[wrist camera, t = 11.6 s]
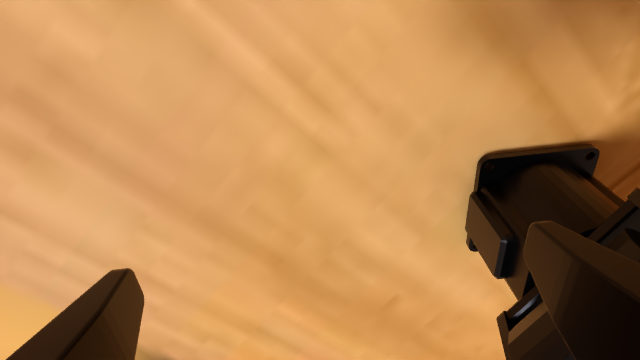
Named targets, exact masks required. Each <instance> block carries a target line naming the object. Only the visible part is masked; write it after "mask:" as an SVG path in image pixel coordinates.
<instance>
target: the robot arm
mask: <svg viewBox="0 0 640 360" xmlns="http://www.w3.org/2000/svg"><path fill="white" fill-rule="evenodd" d="M589 152H590V153H589ZM588 153H589V155H587V154H588ZM586 155H587V156H586ZM598 157H599V150H598V149H597V148H595V147H594V146H592V145H579V146H569V147H560V148H551V149H541V150H532V151H523V152H514V153H504V154H495V155H487V156H484V157H482V158H481V159H480V160H479V161H478V164H477V170H476V177H475V184H474V191H473V192H472V193H471V195H470V197H469V204H468V212H467V219H466V226H465V230H466V231H467V240H466V244H467V246H468V248H469V249H470V250H471V251H474V252H477V251H479V253H480V255H481V256H482V258H483V260H484V261H485V263H486V265H487V266H488V268H489V270H490V271H491V273H492V275H493V276H494V277H496V278H497V279H505V281H506V282H507V284H508V285H509V287H510V289H511V290H512V292H513V293H514V295H515V297H516V298H517V300H518V301H517V302H516V303H515V304H514V305H513V306H512V307H511V308H510V309H509V310H508V311H503V312H502V313H501V314H500V315H499V316H498V317H497V323H498V327H499V331H500V335H501V340H502V344H503V348H504V352H505V356H506V360H640V189H639V188H636V189H635V190H634V191H633V192H632V193H631V194H630V195H629V196H628V197H627V198H628V200H627V201H626V202H624V201H623V200H622V199H620V198H619V197H618V196H617V195H615V194H614V193H613V192H612V191H611V190H609V189H608V188H607V187H606V186H604V185H603V184H602V183H601V182H599V181H598V180H597V179H596V178H594V177H593V173H594V170H595V167H596V164H597V160H598ZM488 163H491V164H490V166H488V167H485V166H486V165H487V164H488ZM143 307H144V295H143V292H142V290H141V287H140V285H139V283H138V280H137V278H136V276H135V274H134V272H133V271H132V270H131V269H129V268H125V269H116V270H112V271H110V272H108V273H107V274H106V275H105V276H104V277H102V278H101V279H100V280H99V281H98V282H97V283H95V284H94V285H93V286H92V287H91V288H90V289H88V290H87V291H86V292H85V293H84V294H82V295H81V296H80V297H79V298H78V299H77V300H75V301H74V302H73V303H72V304H71V305H69V306H68V307H67V308H66V309H65V310H64V311H62V312H61V313H60V314H59V315H58V316H57V317H55V318H54V319H53V320H52V321H51V322H49V323H48V324H47V325H46V326H45V327H44V328H42V329H41V330H40V331H39V332H38V333H37V334H35V335H34V336H33V337H32V338H31V339H29V340H28V341H27V342H26V343H25V344H23V345H22V346H21V347H20V348H19V349H18V350H16V351H15V352H14V353H13V354H12V355H11V356H10V357H8V358H7V359H6V360H135V354H136V348H137V342H138V337H139V331H140V325H141V319H142V313H143Z"/></svg>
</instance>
